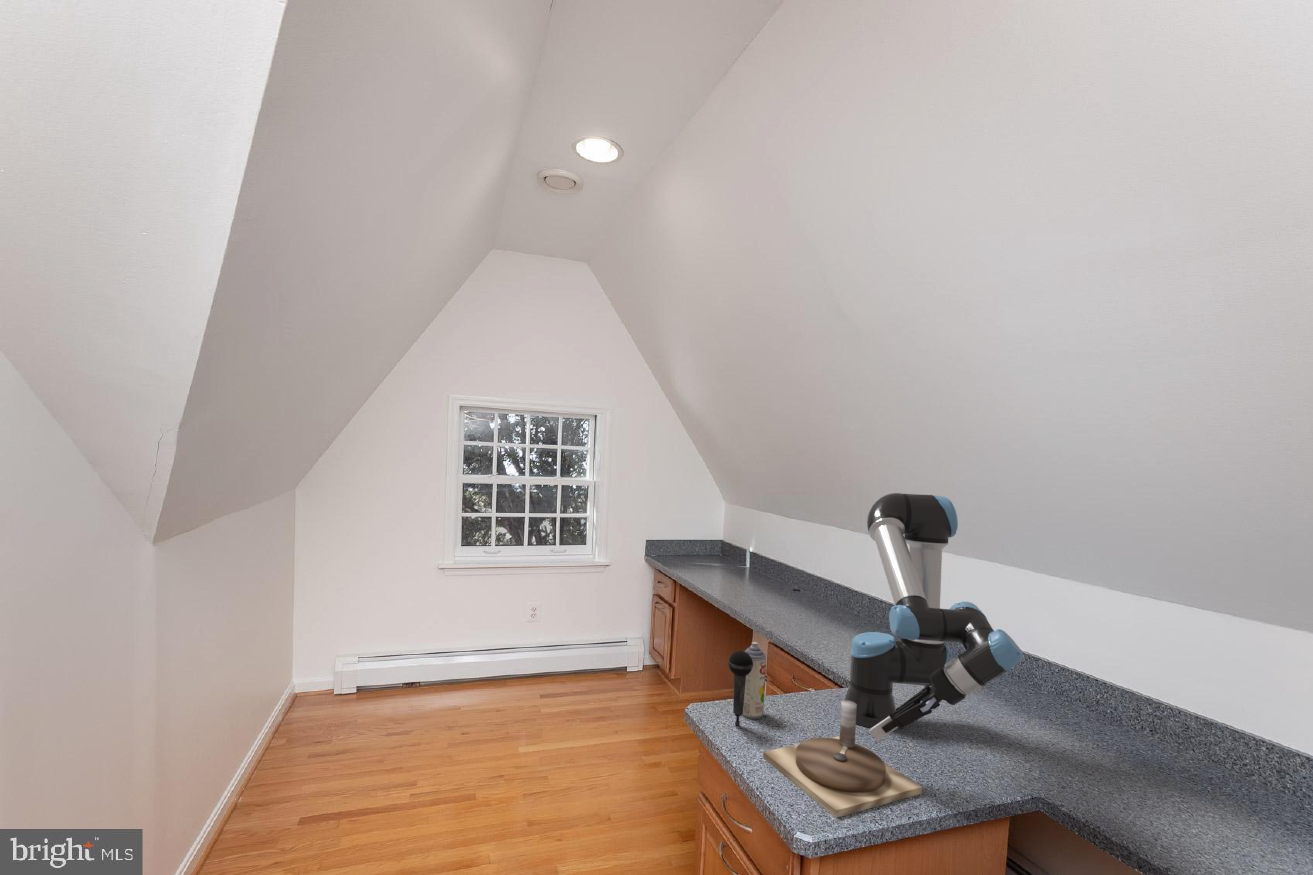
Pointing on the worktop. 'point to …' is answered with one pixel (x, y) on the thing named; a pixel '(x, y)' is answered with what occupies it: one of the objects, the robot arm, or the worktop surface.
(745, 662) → the microphone
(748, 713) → the aerosol can
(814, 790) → the stand plate
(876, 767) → the dial
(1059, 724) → the worktop surface
